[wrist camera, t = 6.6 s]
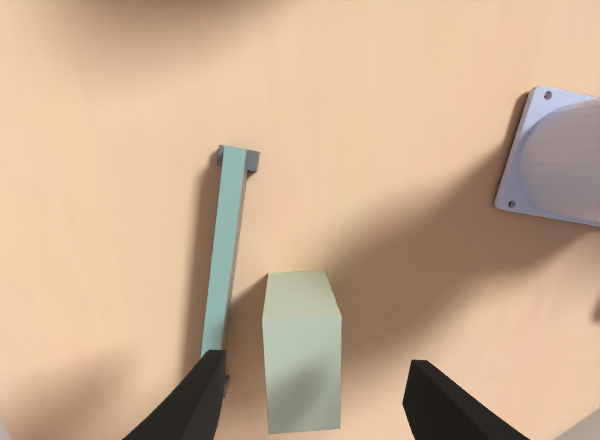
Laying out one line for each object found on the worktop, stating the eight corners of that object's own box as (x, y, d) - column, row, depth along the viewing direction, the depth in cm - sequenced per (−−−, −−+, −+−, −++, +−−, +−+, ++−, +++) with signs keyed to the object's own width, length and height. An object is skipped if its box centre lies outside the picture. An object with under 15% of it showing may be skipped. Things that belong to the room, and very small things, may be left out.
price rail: (259, 152, 18) (256, 151, 16) (227, 389, 22) (220, 414, 19) (222, 145, 18) (213, 143, 16) (195, 386, 21) (185, 411, 19)
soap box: (324, 355, 22) (340, 428, 16) (272, 358, 21) (267, 434, 15) (324, 270, 20) (341, 315, 14) (268, 272, 20) (261, 320, 14)
